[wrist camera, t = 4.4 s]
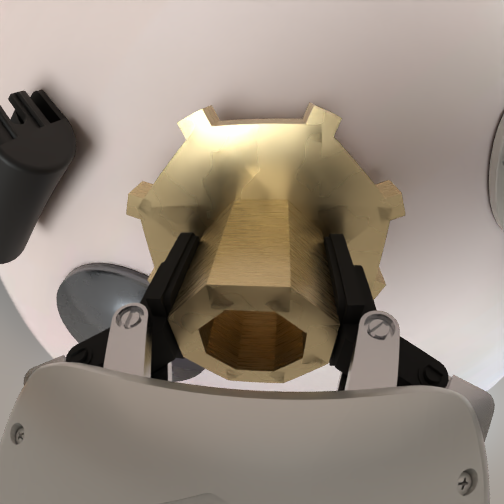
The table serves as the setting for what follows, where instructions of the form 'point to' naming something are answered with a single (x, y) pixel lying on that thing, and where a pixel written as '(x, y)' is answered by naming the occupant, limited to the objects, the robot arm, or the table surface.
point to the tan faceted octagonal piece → (262, 239)
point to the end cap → (29, 165)
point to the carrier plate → (106, 304)
